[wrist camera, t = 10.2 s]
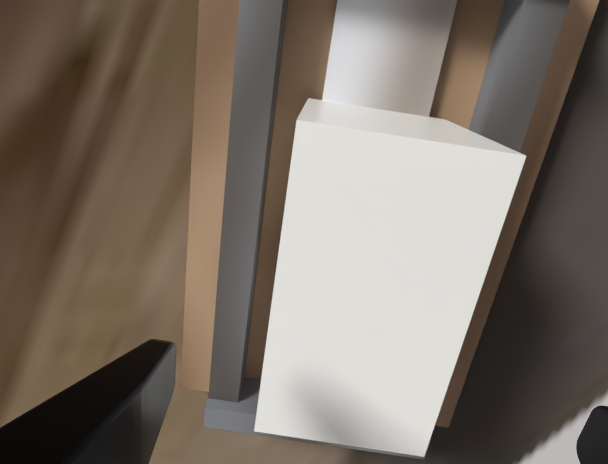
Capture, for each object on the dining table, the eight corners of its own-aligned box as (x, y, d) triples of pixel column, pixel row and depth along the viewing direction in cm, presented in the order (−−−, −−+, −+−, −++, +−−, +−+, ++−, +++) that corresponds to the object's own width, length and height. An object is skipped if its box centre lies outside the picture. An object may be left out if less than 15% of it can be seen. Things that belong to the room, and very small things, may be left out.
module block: (445, 119, 14) (526, 155, 8) (390, 329, 17) (422, 460, 11) (308, 97, 14) (296, 119, 8) (277, 312, 17) (253, 435, 11)
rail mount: (593, -32, 13) (664, -58, 11) (442, 410, 20) (461, 466, 17) (212, -92, 13) (182, -134, 10) (187, 372, 20) (164, 423, 17)
